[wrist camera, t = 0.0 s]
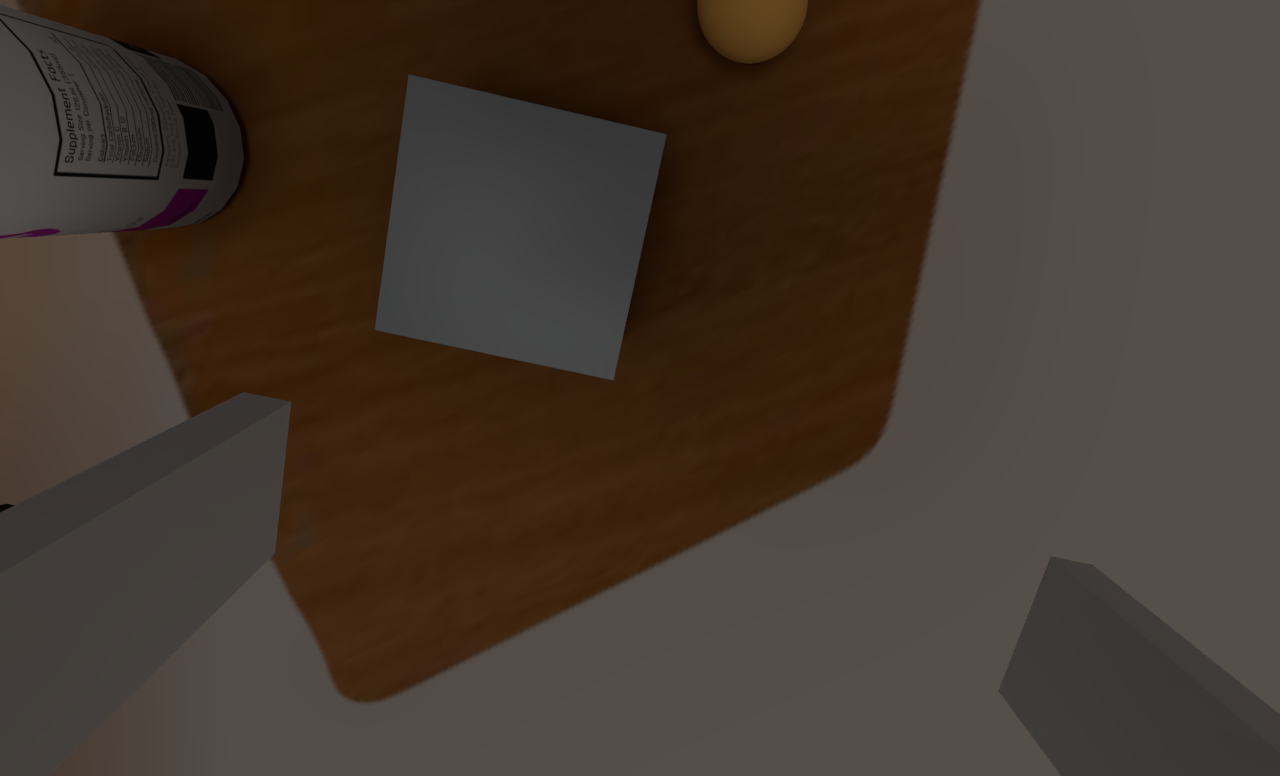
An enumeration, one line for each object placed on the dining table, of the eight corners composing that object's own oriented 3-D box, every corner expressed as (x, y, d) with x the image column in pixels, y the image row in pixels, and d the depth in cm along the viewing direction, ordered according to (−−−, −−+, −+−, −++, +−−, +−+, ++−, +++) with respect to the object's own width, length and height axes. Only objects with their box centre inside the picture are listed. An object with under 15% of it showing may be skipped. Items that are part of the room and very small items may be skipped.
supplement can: (214, 256, 39) (-37, 290, 24) (62, 173, 38) (-297, 156, 23) (277, 114, 37) (46, 60, 23) (119, 23, 36) (-229, -96, 21)
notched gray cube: (460, 103, 37) (408, 74, 28) (659, 149, 38) (666, 134, 29) (430, 301, 39) (374, 329, 31) (617, 341, 40) (613, 380, 32)
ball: (706, -52, 35) (718, -91, 30) (807, -26, 36) (834, -62, 31) (682, 58, 37) (690, 37, 32) (780, 82, 37) (802, 64, 32)
